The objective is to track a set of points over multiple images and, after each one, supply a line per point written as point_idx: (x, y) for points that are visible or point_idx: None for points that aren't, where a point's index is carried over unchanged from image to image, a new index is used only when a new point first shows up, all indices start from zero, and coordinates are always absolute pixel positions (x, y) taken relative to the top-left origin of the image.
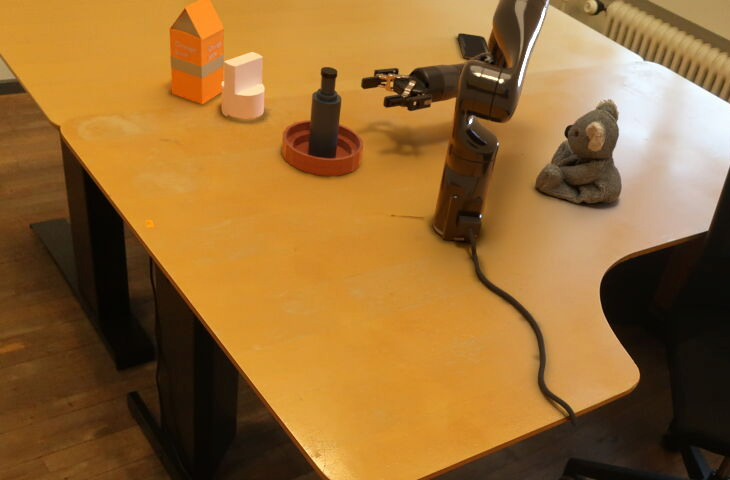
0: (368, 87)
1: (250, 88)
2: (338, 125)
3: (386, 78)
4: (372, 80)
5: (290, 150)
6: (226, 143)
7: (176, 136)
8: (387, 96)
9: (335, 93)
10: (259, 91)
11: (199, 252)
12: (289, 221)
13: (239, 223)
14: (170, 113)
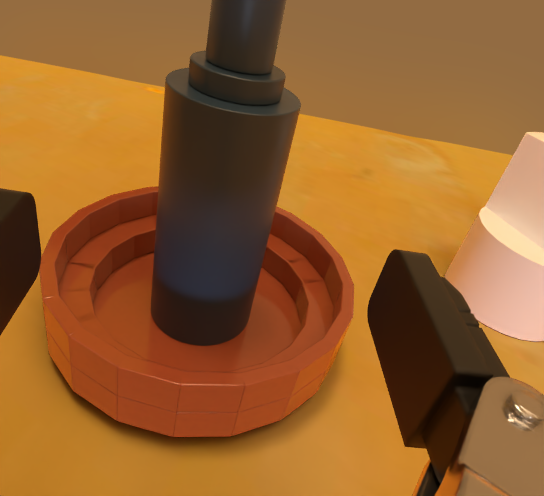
0: (381, 347)
1: (530, 241)
2: (168, 210)
3: (453, 473)
4: (417, 328)
5: None
6: (343, 214)
7: (379, 184)
8: (11, 200)
9: (214, 67)
10: (516, 248)
11: (56, 82)
12: (11, 149)
13: (76, 120)
14: (468, 210)
